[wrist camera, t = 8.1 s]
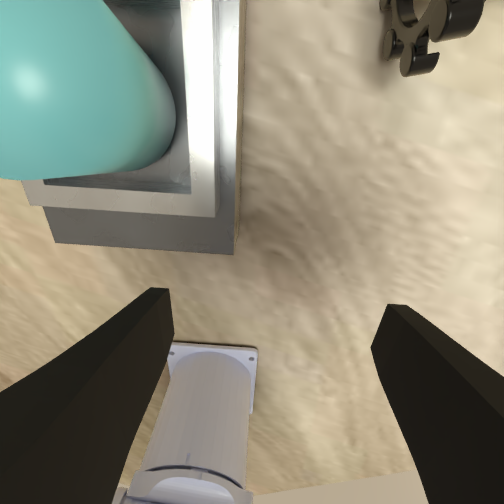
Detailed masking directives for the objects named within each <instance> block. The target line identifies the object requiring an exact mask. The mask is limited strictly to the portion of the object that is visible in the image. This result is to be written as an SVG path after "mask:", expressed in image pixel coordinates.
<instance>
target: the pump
mask: <svg viewBox="0 0 504 504" xmlns="http://www.w3.org/2000/svg"><path fill="white" fill-rule="evenodd" d="M175 125H176V110H175V104H174V99H173V96H172V93H171V90H170V88H169V85H168V83H167V81H166V80H165V78H164V76H163V75H162V73H161V72H160V71H159V69H158V68H157V67H156V65H155V64H154V63H153V62H152V60H151V59H150V58H149V57H148V56H147V54H146V53H145V52H144V51H143V49H142V48H141V47H140V46H139V45H138V43H137V42H136V41H135V40H134V38H133V37H132V36H131V35H130V33H129V32H128V31H127V30H126V29H125V27H124V26H123V25H122V24H121V22H120V21H119V20H118V19H117V17H116V16H115V15H114V14H113V13H112V11H111V10H110V9H109V8H108V6H107V5H106V4H105V3H104V1H103V0H0V178H3V179H12V180H39V179H50V178H61V177H72V176H83V175H93V174H104V173H115V172H126V171H134V170H139V169H142V168H145V167H147V166H149V165H151V164H153V163H154V162H156V161H157V160H158V159H159V158H160V157H161V156H162V155H163V154H164V153H165V152H166V150H167V148H168V147H169V145H170V143H171V140H172V138H173V135H174V131H175Z"/></svg>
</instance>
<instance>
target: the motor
mask: <svg viewBox="0 0 504 504" xmlns="http://www.w3.org/2000/svg"><path fill="white" fill-rule="evenodd" d="M103 1H104V3H105V4H106V5H107V6H108V8H109V9H110V10H111V11H112V13H113V14H114V15H115V16H116V17H117V19H118V20H119V21H120V22H121V24H122V25H123V26H124V27H125V29H126V30H127V31H128V32H129V33H130V35H131V36H132V37H133V38H134V40H135V41H136V42H137V43H138V45H139V46H140V47H141V48H142V49H143V51H144V52H145V53H146V54H147V56H148V57H149V58H150V59H151V60H152V62H153V63H154V64H155V65H156V67H157V68H158V69H159V71H160V72H161V73H162V75H163V76H164V78H165V80H166V81H167V83H168V85H169V88H170V90H171V93H172V96H173V99H174V104H175V110H176V125H175V131H174V135H173V138H172V140H171V143H170V145H169V147H168V148H167V150H166V152H165V153H164V154H163V155H162V156H161V157H160V158H159V159H158V160H157V161H156V162H154V163H153V164H151V165H149V166H147V167H145V168H142V169H139V170H134V171H126V172H115V173H104V174H93V175H83V176H72V177H61V178H50V179H39V180H21V182H22V185H23V188H24V190H25V193H26V196H27V198H28V201H29V204H30V205H33V206H43V209H44V212H45V215H46V218H47V220H48V223H49V226H50V229H51V232H52V235H53V238H54V241H55V243H65V244H80V245H94V246H109V247H124V248H139V249H153V250H168V251H183V252H197V253H212V254H227V255H234V251H235V246H236V241H237V237H238V232H239V216H240V185H241V154H242V123H243V93H244V62H245V31H246V0H103Z"/></svg>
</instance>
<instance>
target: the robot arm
mask: <svg viewBox="0 0 504 504" xmlns="http://www.w3.org/2000/svg"><path fill="white" fill-rule="evenodd" d="M174 334H175V333H174V325H173V317H172V309H171V301H170V293H169V289H168V288H154V287H150V288H149V289H148V290H146V291H145V292H144V293H142V294H141V295H140V296H139V297H137V298H136V299H135V300H133V301H132V302H131V303H130V304H128V305H127V306H126V307H125V308H123V309H122V310H121V311H120V312H118V313H117V314H116V315H114V316H113V317H112V318H110V319H109V320H108V321H106V322H105V323H104V324H102V325H101V326H100V327H99V328H97V329H96V330H95V331H93V332H92V333H90V334H89V335H87V336H86V337H85V338H83V339H82V340H80V341H79V342H77V343H76V344H75V345H73V346H72V347H70V348H69V349H68V350H66V351H65V352H63V353H62V354H60V355H59V356H58V357H56V358H54V359H53V360H51V361H50V362H48V363H47V364H45V365H44V366H42V367H41V368H39V369H38V370H36V371H34V372H33V373H31V374H29V375H28V376H26V377H25V378H23V379H21V380H20V381H18V382H16V383H15V384H13V385H11V386H10V387H8V388H6V389H5V390H3V391H1V392H0V504H253V492H251V491H247V490H245V488H246V468H247V448H248V429H249V414H251V413H252V410H253V400H254V389H255V378H256V367H257V357H258V351H257V350H256V349H255V348H247V347H233V346H219V345H206V344H192V343H178V342H172V341H173V337H174ZM172 351H173V352H172ZM371 351H372V355H373V359H374V363H375V366H376V369H377V373H378V376H379V379H380V381H381V384H382V386H383V389H384V391H385V394H386V396H387V398H388V401H389V403H390V406H391V408H392V410H393V413H394V415H395V417H396V420H397V422H398V424H399V427H400V429H401V431H402V434H403V436H404V438H405V441H406V443H407V445H408V448H409V450H410V452H411V455H412V457H413V460H414V462H415V465H416V468H417V470H418V473H419V476H420V479H421V481H422V485H423V487H424V490H425V494H426V497H427V500H428V503H429V504H504V377H503V376H502V375H500V374H499V373H498V372H496V371H495V370H493V369H492V368H491V367H489V366H488V365H486V364H485V363H484V362H482V361H481V360H480V359H478V358H477V357H476V356H474V355H473V354H472V353H470V352H469V351H468V350H466V349H465V348H464V347H462V346H461V345H460V344H458V343H457V342H456V341H454V340H453V339H452V338H450V337H449V336H448V335H447V334H445V333H444V332H443V331H441V330H440V329H439V328H437V327H436V326H435V325H433V324H432V323H431V322H429V321H428V320H427V319H425V318H424V317H423V316H421V315H420V314H419V313H417V312H416V311H414V310H413V309H412V308H410V307H409V306H407V305H398V304H387V307H386V309H385V312H384V314H383V317H382V320H381V322H380V325H379V327H378V330H377V332H376V335H375V337H374V340H373V343H372V345H371ZM166 361H168V367H169V374H170V383H169V385H168V388H167V391H166V394H165V397H164V400H163V403H162V406H161V409H160V412H159V414H158V417H157V420H156V423H155V426H154V429H153V432H152V435H151V438H150V440H149V443H148V446H147V449H146V452H145V455H144V458H143V461H142V464H141V466H140V469H139V470H136V471H135V473H134V476H133V479H132V482H131V485H130V487H129V490H128V493H127V488H124V487H119V488H117V486H118V483H119V480H120V477H121V474H122V471H123V468H124V465H125V462H126V459H127V456H128V453H129V450H130V448H131V445H132V442H133V440H134V437H135V435H136V432H137V430H138V428H139V425H140V423H141V421H142V418H143V416H144V414H145V411H146V409H147V407H148V404H149V402H150V400H151V397H152V395H153V393H154V390H155V388H156V385H157V383H158V381H159V378H160V376H161V374H162V371H163V369H164V366H165V364H166ZM126 495H127V496H126Z"/></svg>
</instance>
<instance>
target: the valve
mask: <svg viewBox="0 0 504 504" xmlns="http://www.w3.org/2000/svg"><path fill="white" fill-rule="evenodd" d="M485 1H486V0H431V2H430V4H429V6H428V8H427V10H426V12H425V13H424V15H423V16H422V18H421V19H420V20H419V21H418V19H417V18H416V16H415V13H414V8H413V0H380V8H381V10H382V11H386V10H391V9H392V25H391V29H390V30H389V31H388V32H387V34H386V36H385V39H384V44H383V56H384V58H385V60H393V59H399V58H401V59H400V72H401V75H402V76H403V77H410V76H415V75H421V74H427V73H430V72H431V71H432V70H433V69H434V68H435V66H436V64H437V62H438V59H439V55H440V53H439V52H437V53H431V54H427V52H428V42H429V39H431V41H432V42H441V41H446V40H451V39H457V38H462V37H466V36H468V35H469V34H470V33H471V32H472V31H473V30H474V29H475V27H476V26H477V24H478V22H479V20H480V17H481V15H482V11H483V7H484V2H485Z"/></svg>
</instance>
